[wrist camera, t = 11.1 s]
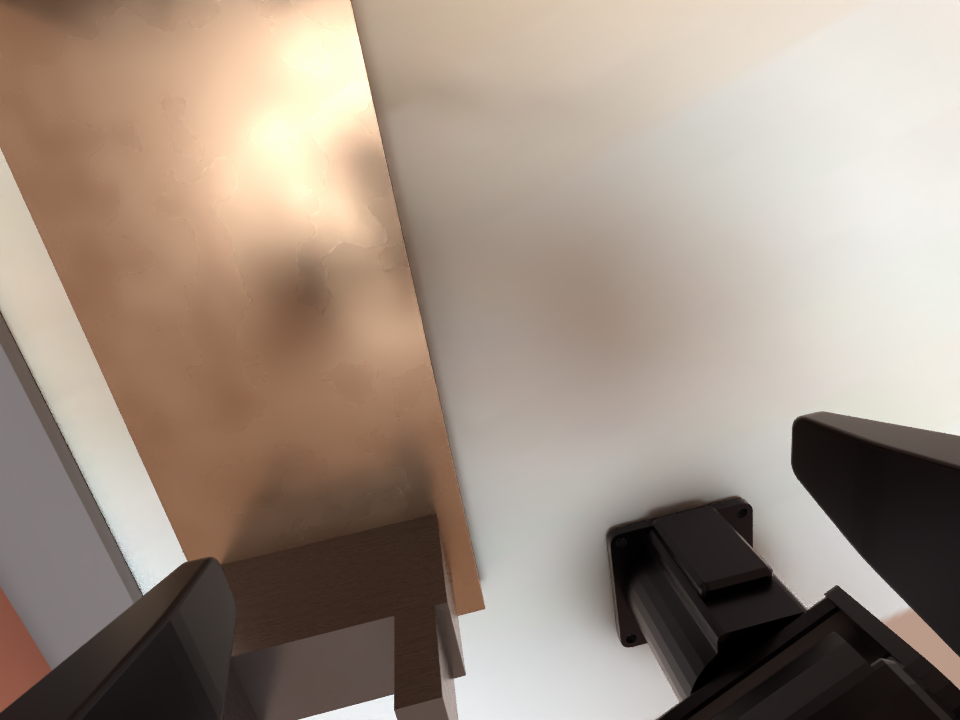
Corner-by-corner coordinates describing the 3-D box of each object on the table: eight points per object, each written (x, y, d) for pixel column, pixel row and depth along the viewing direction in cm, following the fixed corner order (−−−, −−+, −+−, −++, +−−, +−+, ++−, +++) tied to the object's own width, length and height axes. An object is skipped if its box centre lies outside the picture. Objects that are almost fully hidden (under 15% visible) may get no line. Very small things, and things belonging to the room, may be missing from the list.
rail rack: (479, 582, 24) (527, 810, 15) (247, 641, 23) (161, 915, 14) (289, -274, 14) (129, -957, 5) (-127, -224, 13) (-1061, -931, 5)
